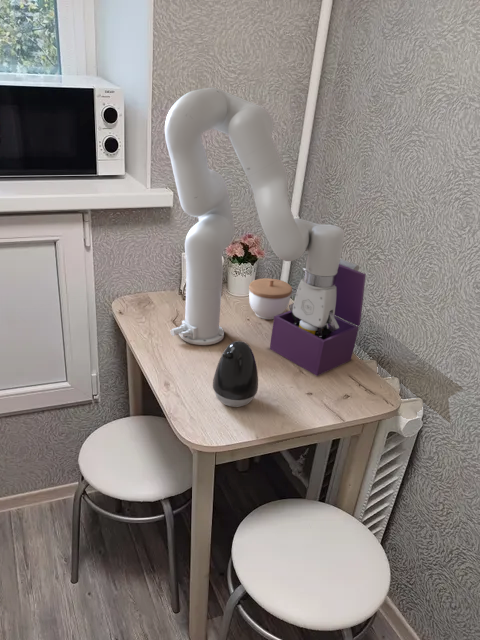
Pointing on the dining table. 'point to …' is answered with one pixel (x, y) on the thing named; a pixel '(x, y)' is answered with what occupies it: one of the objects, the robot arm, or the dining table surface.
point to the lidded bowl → (269, 297)
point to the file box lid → (349, 292)
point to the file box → (313, 344)
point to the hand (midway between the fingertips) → (308, 342)
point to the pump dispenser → (236, 375)
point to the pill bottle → (308, 327)
